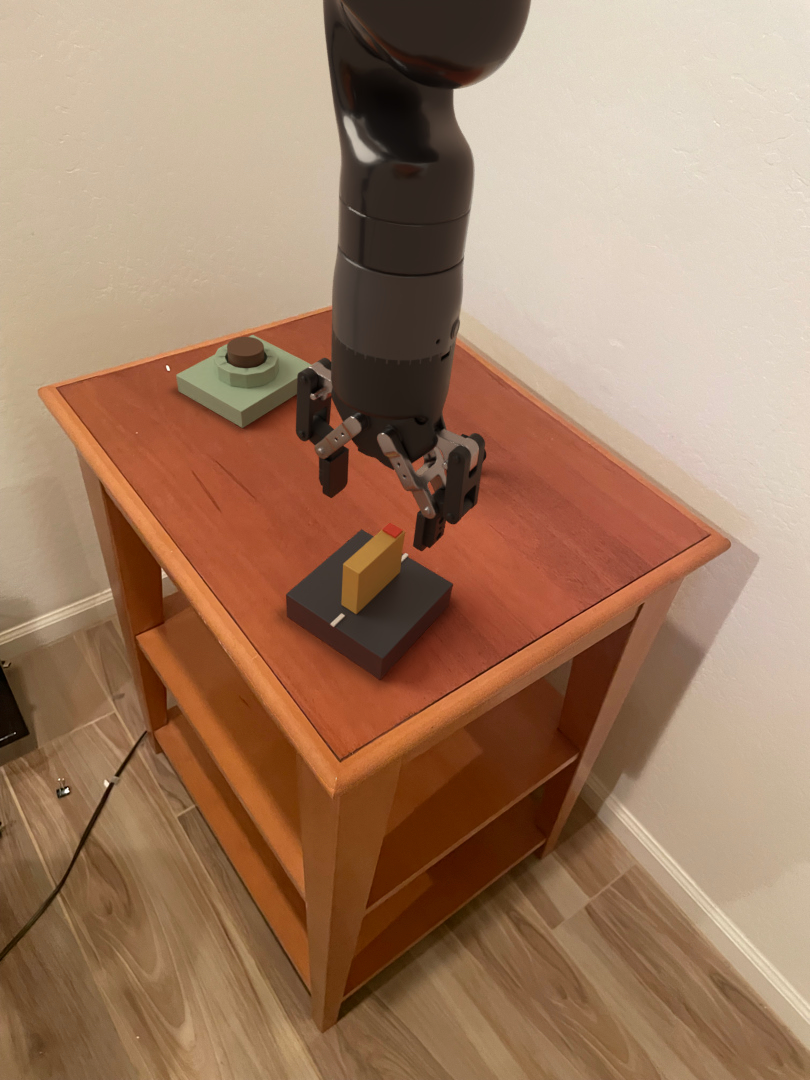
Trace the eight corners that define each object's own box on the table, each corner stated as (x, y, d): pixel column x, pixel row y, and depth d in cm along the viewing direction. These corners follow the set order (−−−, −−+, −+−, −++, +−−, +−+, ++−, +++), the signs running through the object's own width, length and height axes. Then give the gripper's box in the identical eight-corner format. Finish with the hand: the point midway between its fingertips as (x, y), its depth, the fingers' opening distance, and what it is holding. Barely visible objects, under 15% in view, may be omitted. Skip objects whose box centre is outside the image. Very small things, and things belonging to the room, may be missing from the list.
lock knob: (356, 614, 59) (359, 571, 55) (341, 604, 60) (342, 561, 56) (400, 572, 63) (405, 529, 59) (385, 563, 63) (389, 520, 59)
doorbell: (242, 428, 79) (239, 397, 76) (178, 391, 83) (173, 360, 80) (315, 382, 86) (315, 352, 84) (253, 350, 90) (251, 320, 87)
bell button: (246, 374, 80) (245, 360, 79) (220, 360, 82) (219, 346, 80) (272, 359, 83) (271, 346, 81) (246, 346, 84) (245, 332, 83)
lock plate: (379, 681, 58) (382, 658, 56) (285, 617, 62) (284, 593, 60) (449, 605, 65) (454, 581, 62) (360, 551, 68) (362, 527, 66)
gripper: (262, 301, 44) (274, 499, 55) (460, 396, 39) (427, 593, 50) (342, 261, 48) (337, 452, 60) (529, 341, 43) (484, 534, 55)
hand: (378, 516), depth 55 cm, fingers open, 8 cm apart
